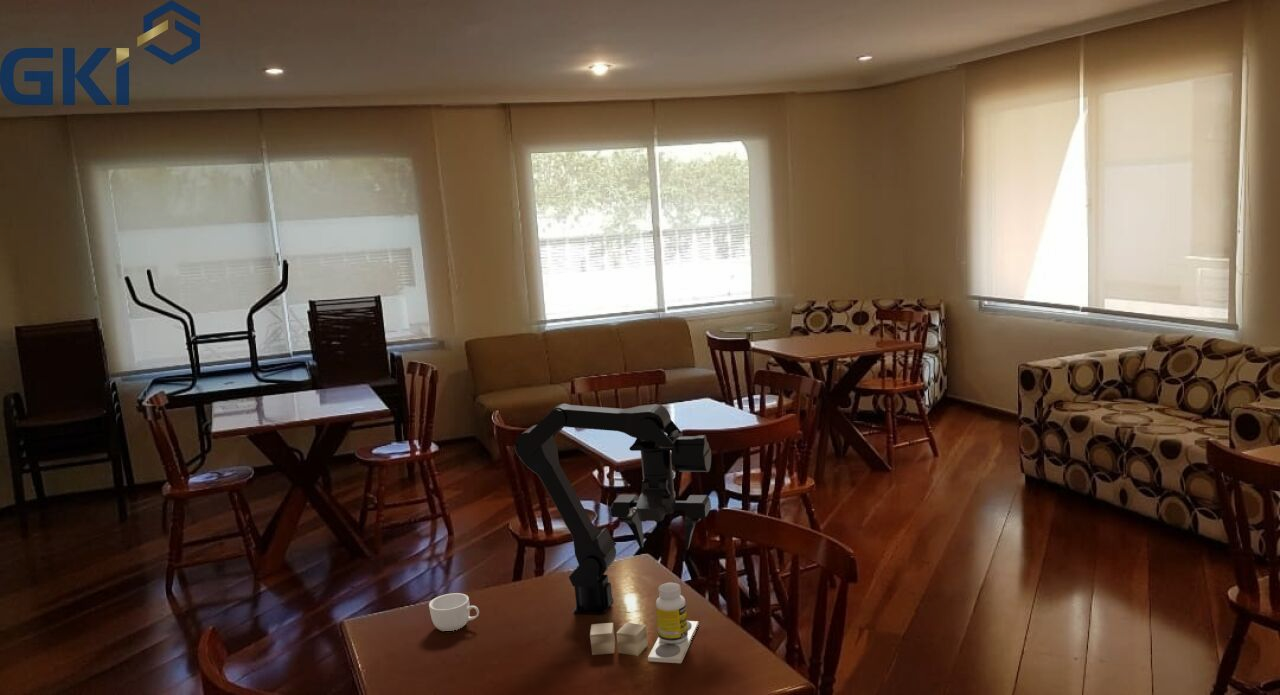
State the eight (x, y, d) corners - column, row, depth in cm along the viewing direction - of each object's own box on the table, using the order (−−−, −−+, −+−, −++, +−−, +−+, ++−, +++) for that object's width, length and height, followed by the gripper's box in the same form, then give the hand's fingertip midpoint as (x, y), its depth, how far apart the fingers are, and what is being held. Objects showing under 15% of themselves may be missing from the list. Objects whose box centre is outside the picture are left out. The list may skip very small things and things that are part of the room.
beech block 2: (618, 653, 164) (616, 632, 163) (628, 642, 167) (626, 622, 167) (638, 656, 162) (636, 635, 161) (647, 645, 165) (645, 625, 165)
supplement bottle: (685, 644, 162) (681, 593, 160) (656, 644, 163) (651, 593, 162) (690, 630, 167) (686, 580, 166) (661, 629, 168) (657, 580, 167)
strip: (648, 661, 160) (647, 656, 159) (668, 623, 173) (667, 618, 173) (681, 663, 158) (680, 658, 158) (698, 625, 171) (698, 620, 171)
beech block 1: (592, 655, 164) (590, 634, 163) (593, 644, 168) (591, 624, 167) (614, 653, 164) (612, 633, 163) (615, 642, 168) (613, 622, 167)
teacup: (425, 635, 177) (422, 610, 176) (442, 617, 185) (438, 592, 184) (473, 636, 175) (469, 610, 174) (488, 618, 182) (484, 593, 181)
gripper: (598, 484, 169) (606, 563, 171) (695, 485, 163) (702, 566, 166) (616, 466, 179) (623, 540, 182) (708, 466, 174) (714, 542, 176)
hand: (664, 548), depth 176 cm, fingers open, 9 cm apart
